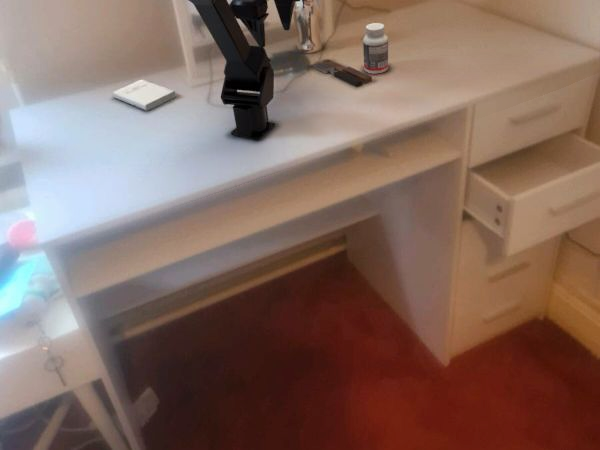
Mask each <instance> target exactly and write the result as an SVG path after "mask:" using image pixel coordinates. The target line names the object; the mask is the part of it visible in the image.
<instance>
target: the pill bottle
mask: <svg viewBox="0 0 600 450" xmlns="http://www.w3.org/2000/svg"><path fill="white" fill-rule="evenodd" d="M385 31H386V30H385V25H384V24H383V23H381V22H373V23H369V24H367V25H366V26H365V36H364V37H363V39H362V46H363V47H362V49H363V70H364V71H365V72H366V73H368V74H374V75H378V74H381V73H385V72H387V71H388V70H389V37H388V35H386V34H385Z"/></svg>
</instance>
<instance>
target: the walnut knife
mask: <svg viewBox="0 0 600 450" xmlns="http://www.w3.org/2000/svg"><path fill="white" fill-rule="evenodd" d="M321 63H323V64H326V65H328V66H330V67H333V68H335V70H334V71H336V72H337V71H339V70H340V71H342V72H344V73H346V74H348V75H351V76H353V77H355V78H357V79H359V80H361V81H362V83H364V84H368V83H370V82H372V81H373V78H372V76H371V75H369V74H366V73H365V72H363V71H360V70H358V69H356V68H354V67H351V66H349V65H348V66H344V65H342V64H340V63H337V62H336V61H334V60H332V59H323V60H322V61H321Z"/></svg>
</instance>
